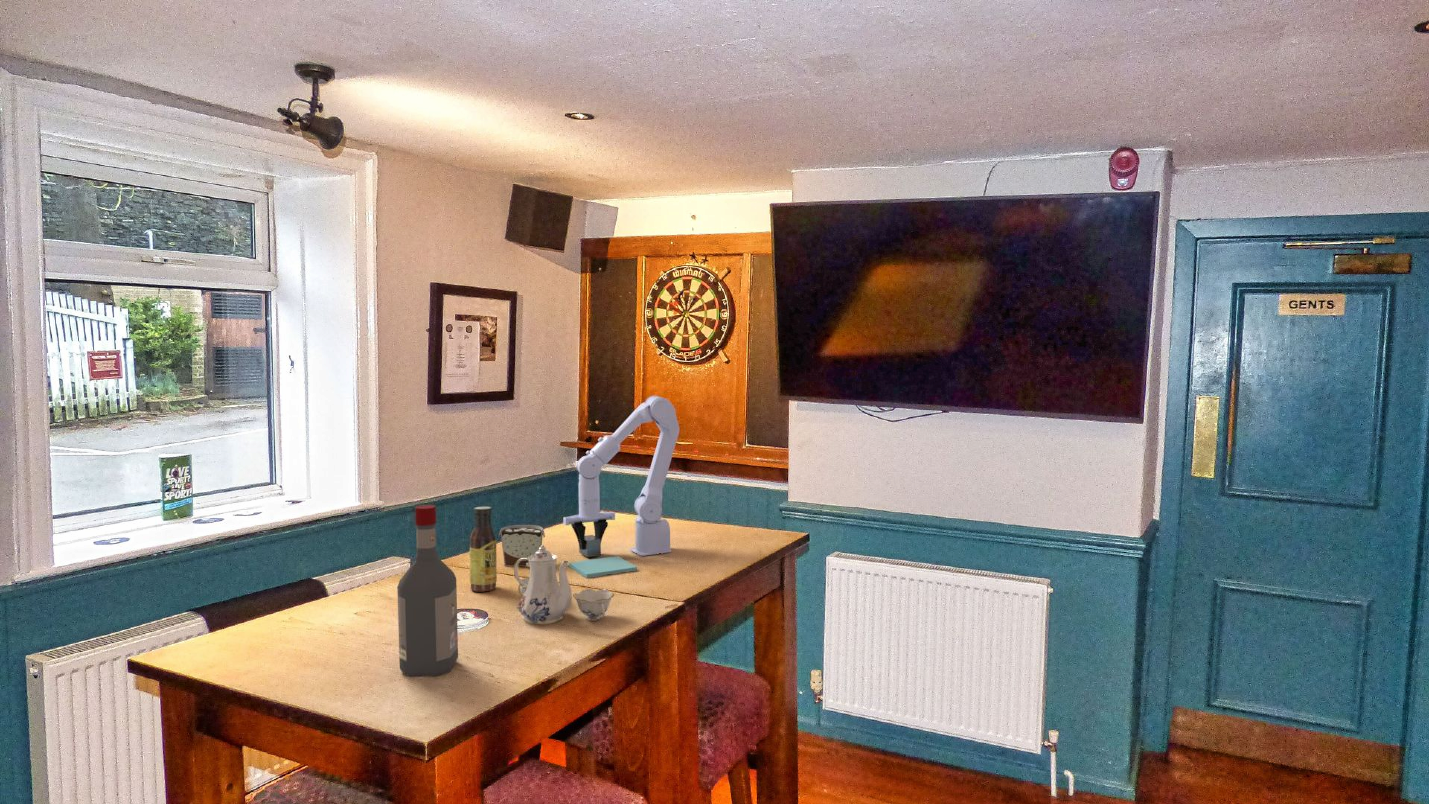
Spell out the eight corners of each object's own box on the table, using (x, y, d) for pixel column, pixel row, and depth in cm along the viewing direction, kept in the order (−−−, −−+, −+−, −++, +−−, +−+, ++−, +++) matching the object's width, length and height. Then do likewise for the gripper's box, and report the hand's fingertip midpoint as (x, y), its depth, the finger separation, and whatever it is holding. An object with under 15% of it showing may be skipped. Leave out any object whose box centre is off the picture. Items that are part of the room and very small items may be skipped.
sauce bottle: (489, 593, 207) (488, 511, 205) (465, 592, 208) (463, 510, 207) (501, 586, 213) (500, 505, 212) (478, 584, 214) (476, 504, 213)
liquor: (460, 658, 166) (457, 501, 163) (447, 676, 156) (443, 511, 154) (412, 658, 165) (407, 502, 163) (396, 677, 156) (391, 512, 154)
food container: (551, 561, 237) (550, 524, 236) (544, 567, 231) (544, 530, 230) (507, 560, 238) (506, 523, 237) (499, 566, 232) (498, 528, 231)
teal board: (617, 559, 238) (617, 556, 238) (637, 570, 227) (637, 567, 227) (568, 566, 231) (568, 562, 231) (586, 578, 220) (586, 574, 220)
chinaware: (626, 622, 191) (630, 546, 191) (577, 637, 177) (582, 555, 177) (530, 602, 205) (534, 532, 206) (478, 614, 191) (482, 539, 191)
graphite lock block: (592, 550, 246) (592, 534, 245) (600, 555, 241) (600, 539, 240) (579, 552, 244) (579, 536, 243) (587, 557, 239) (586, 540, 238)
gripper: (608, 494, 248) (608, 541, 249) (559, 499, 241) (560, 548, 242) (617, 498, 242) (618, 546, 243) (568, 503, 235) (568, 553, 236)
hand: (589, 547), depth 242 cm, fingers closed on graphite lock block, 4 cm apart
